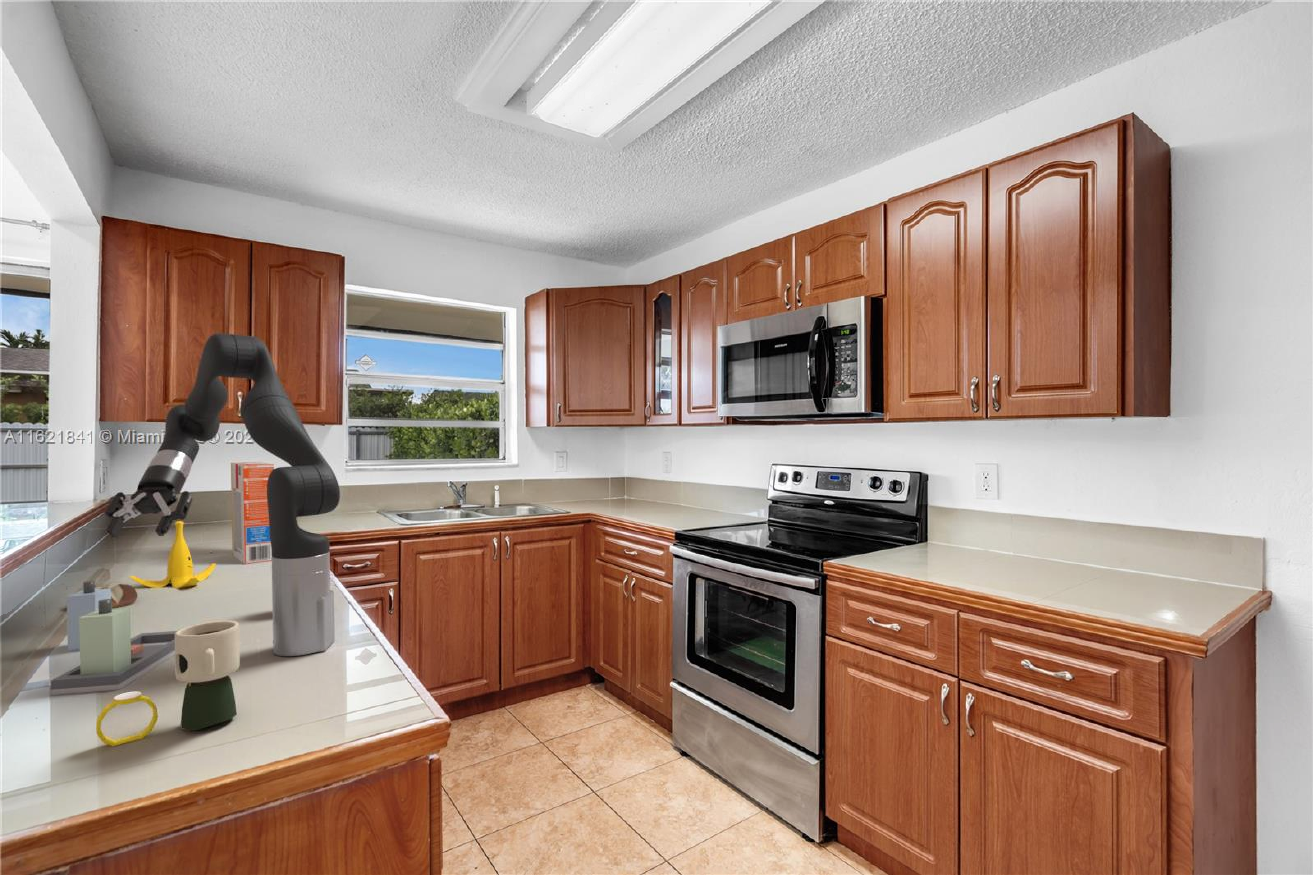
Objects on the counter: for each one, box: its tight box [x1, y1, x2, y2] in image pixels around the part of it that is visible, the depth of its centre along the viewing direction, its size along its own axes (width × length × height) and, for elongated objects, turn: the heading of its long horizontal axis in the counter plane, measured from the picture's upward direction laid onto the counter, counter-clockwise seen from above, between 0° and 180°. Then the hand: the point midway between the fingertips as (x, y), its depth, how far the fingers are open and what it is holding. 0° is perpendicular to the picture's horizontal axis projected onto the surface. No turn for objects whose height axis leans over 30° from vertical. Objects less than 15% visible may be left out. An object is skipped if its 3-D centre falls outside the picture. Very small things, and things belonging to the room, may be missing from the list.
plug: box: [66, 580, 111, 651], centre depth 119 cm, size 4×4×12 cm
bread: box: [95, 581, 138, 609], centre depth 147 cm, size 11×11×5 cm
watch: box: [95, 691, 159, 747], centre depth 81 cm, size 6×3×6 cm, turn 133°
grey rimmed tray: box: [50, 630, 178, 696], centre depth 108 cm, size 9×23×3 cm, turn 11°
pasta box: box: [230, 461, 275, 565], centre depth 203 cm, size 23×8×30 cm, turn 41°
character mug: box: [174, 620, 241, 731], centre depth 86 cm, size 11×7×13 cm, turn 37°
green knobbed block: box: [79, 599, 132, 675], centre depth 102 cm, size 4×4×12 cm
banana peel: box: [129, 520, 217, 590], centre depth 166 cm, size 17×19×17 cm
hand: (135, 534), depth 131 cm, fingers open, 8 cm apart
